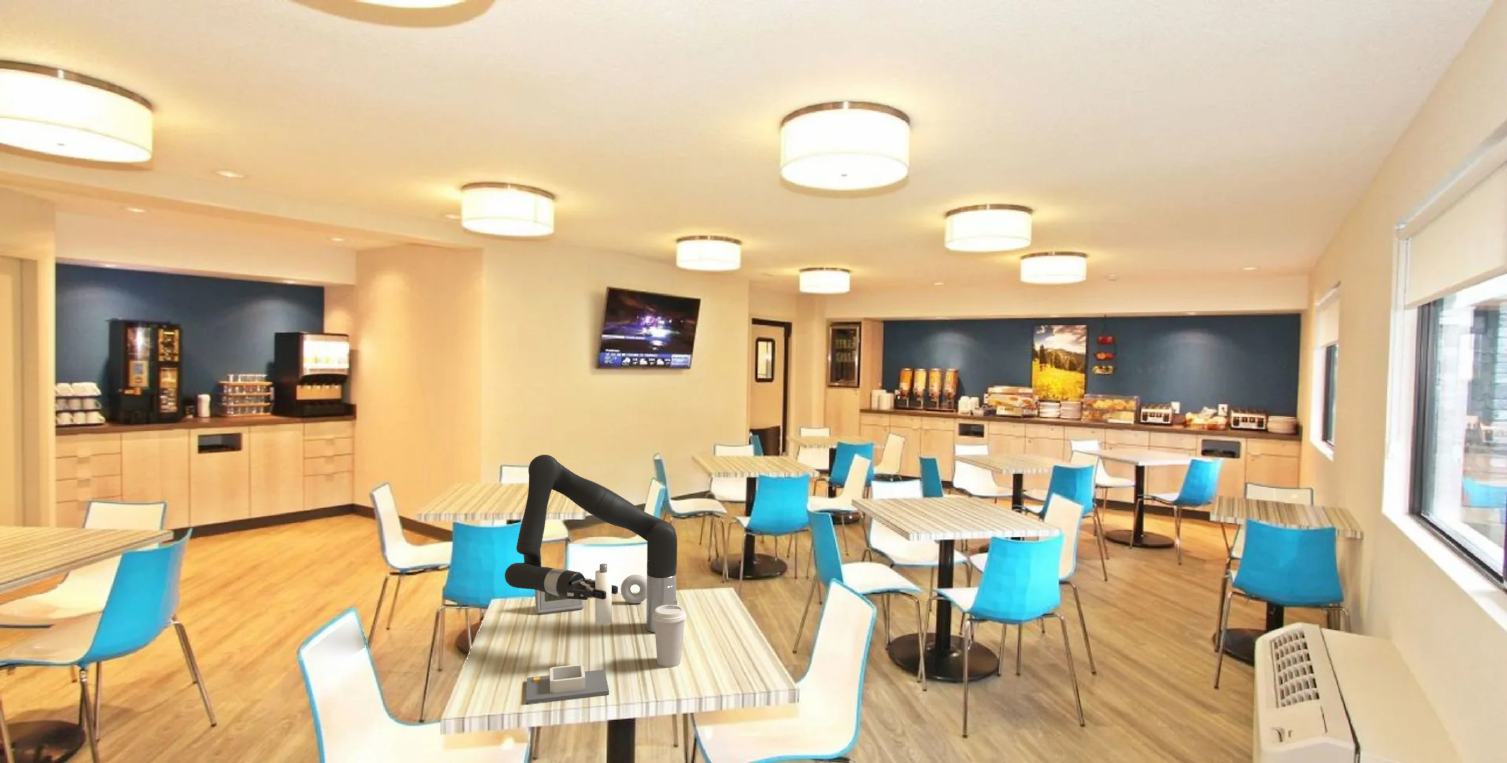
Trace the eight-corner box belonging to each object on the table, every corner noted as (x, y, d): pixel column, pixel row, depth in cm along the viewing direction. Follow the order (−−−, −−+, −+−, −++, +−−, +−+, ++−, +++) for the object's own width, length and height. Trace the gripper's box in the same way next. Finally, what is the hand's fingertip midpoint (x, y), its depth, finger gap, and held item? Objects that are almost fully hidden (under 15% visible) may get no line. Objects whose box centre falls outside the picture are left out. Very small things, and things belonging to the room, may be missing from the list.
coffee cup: (691, 658, 206) (692, 606, 205) (677, 671, 197) (677, 617, 196) (661, 653, 209) (661, 601, 208) (645, 666, 200) (646, 612, 199)
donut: (649, 601, 253) (650, 573, 253) (649, 604, 249) (649, 576, 249) (621, 601, 252) (621, 573, 252) (619, 605, 249) (620, 576, 248)
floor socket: (604, 672, 195) (604, 658, 195) (608, 694, 183) (609, 679, 183) (526, 681, 190) (526, 666, 189) (526, 704, 177) (526, 688, 177)
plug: (610, 617, 204) (610, 561, 203) (612, 623, 200) (612, 566, 199) (594, 619, 203) (594, 563, 202) (596, 625, 198) (595, 567, 198)
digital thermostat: (533, 615, 238) (533, 583, 237) (536, 606, 246) (536, 575, 246) (584, 612, 241) (584, 581, 241) (585, 603, 250) (585, 573, 249)
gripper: (546, 577, 201) (594, 586, 193) (581, 564, 214) (627, 572, 206) (546, 603, 201) (594, 614, 193) (581, 589, 214) (627, 598, 206)
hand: (611, 592), depth 200 cm, fingers closed on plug, 4 cm apart
